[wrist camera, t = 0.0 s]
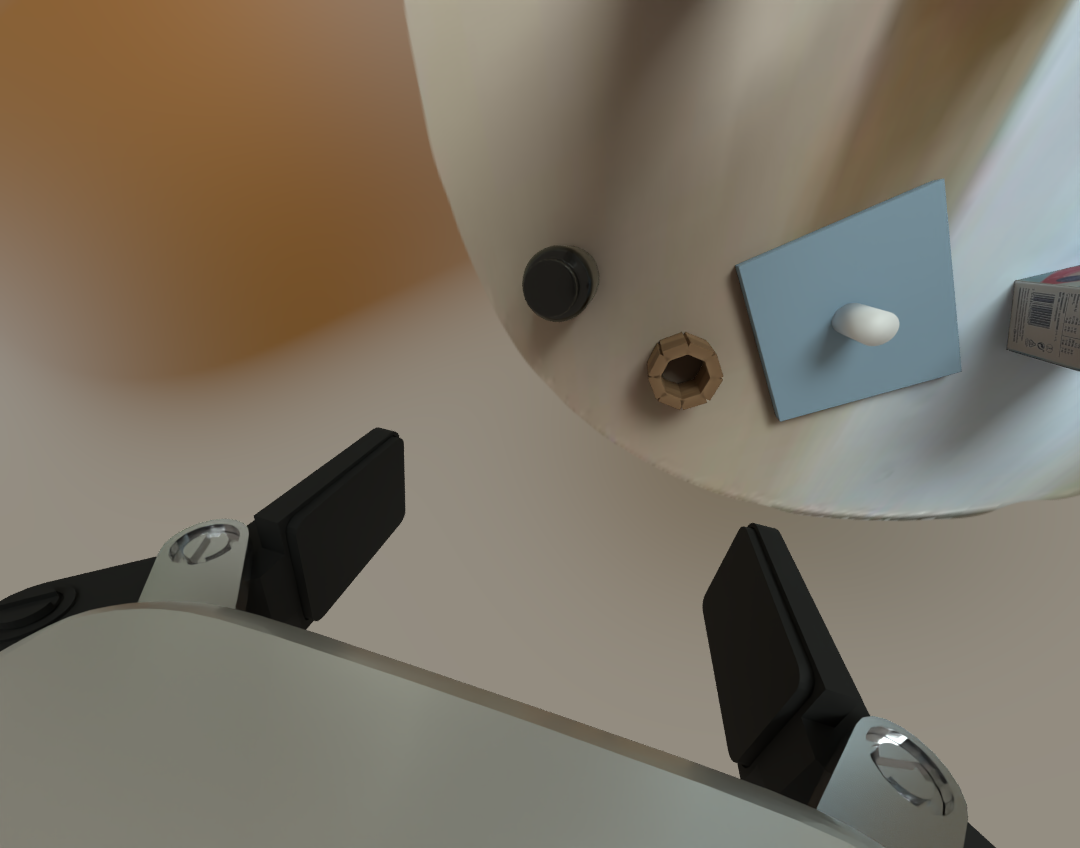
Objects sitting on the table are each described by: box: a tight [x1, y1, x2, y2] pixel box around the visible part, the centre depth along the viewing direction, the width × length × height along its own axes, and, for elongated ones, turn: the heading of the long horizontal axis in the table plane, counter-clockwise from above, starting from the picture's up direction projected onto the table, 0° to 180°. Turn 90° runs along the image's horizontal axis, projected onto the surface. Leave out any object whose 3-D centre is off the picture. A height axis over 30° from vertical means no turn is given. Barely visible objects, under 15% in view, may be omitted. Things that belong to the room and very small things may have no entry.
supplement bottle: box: [522, 246, 599, 322], centre depth 38 cm, size 7×7×12 cm
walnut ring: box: [647, 332, 723, 410], centre depth 42 cm, size 7×7×5 cm
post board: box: [735, 179, 962, 421], centre depth 36 cm, size 18×16×6 cm
